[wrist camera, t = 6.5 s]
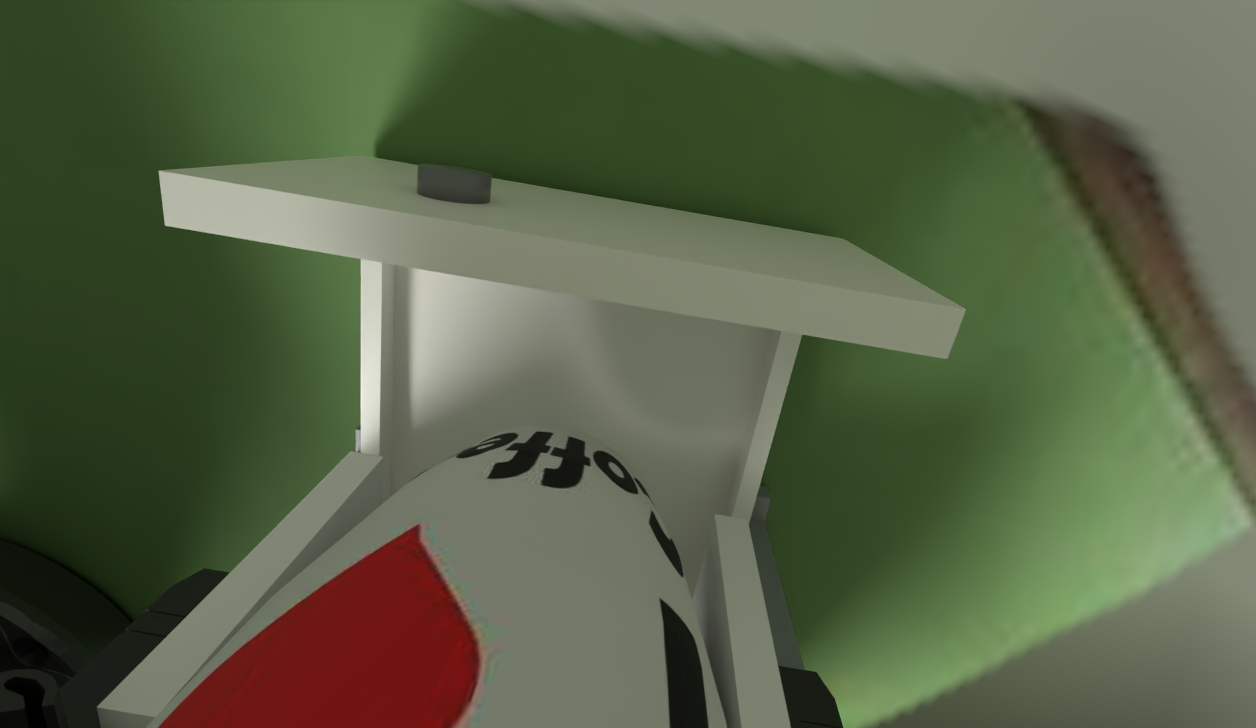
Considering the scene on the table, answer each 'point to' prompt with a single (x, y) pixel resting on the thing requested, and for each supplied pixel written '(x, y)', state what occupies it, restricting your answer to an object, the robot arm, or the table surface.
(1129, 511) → the table surface
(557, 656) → the cup
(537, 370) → the white drawer
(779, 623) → the housing
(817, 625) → the table surface
